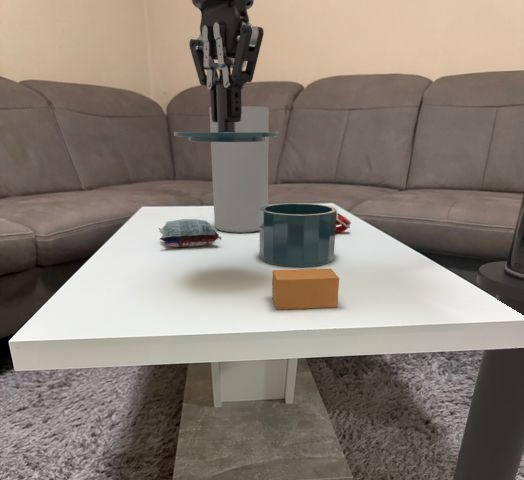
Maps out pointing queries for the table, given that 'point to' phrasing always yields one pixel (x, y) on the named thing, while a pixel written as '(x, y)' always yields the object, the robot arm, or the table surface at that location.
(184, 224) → the packaged food
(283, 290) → the orange rectangular block
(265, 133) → the lid
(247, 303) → the table surface
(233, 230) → the cylinder vase
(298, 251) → the pot
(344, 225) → the tracker holder
